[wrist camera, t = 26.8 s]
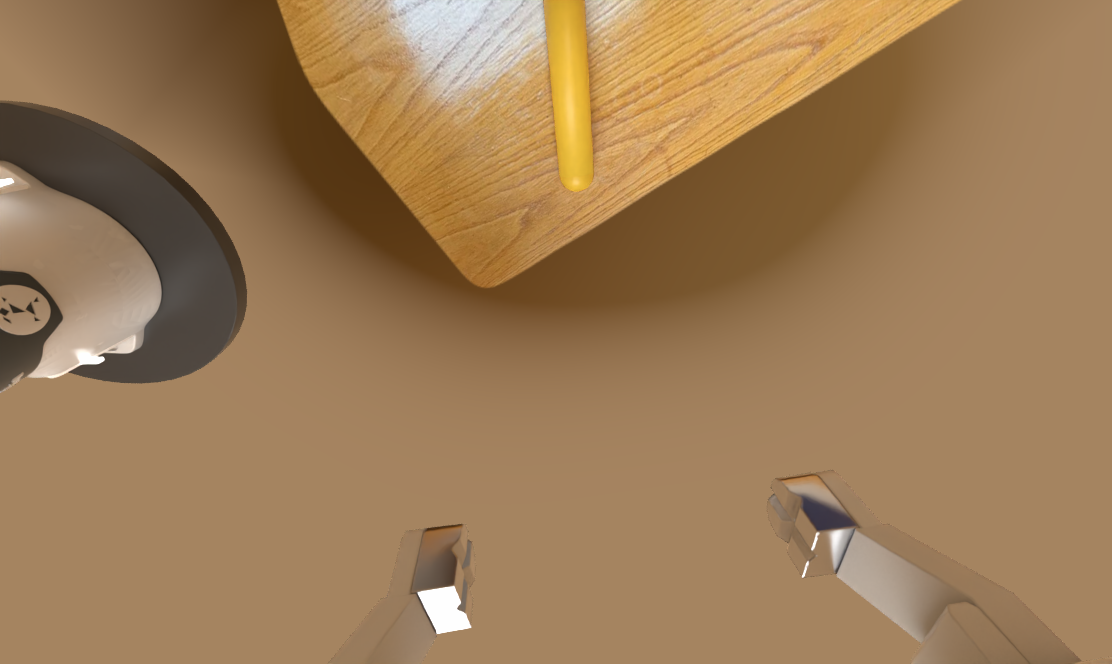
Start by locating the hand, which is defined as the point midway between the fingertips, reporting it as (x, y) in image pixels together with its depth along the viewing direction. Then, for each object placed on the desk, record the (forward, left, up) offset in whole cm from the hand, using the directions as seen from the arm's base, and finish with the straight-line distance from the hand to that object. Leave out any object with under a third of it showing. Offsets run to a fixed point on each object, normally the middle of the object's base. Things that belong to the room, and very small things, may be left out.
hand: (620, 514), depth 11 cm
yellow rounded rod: (+5, +12, -34) cm, 37 cm away
